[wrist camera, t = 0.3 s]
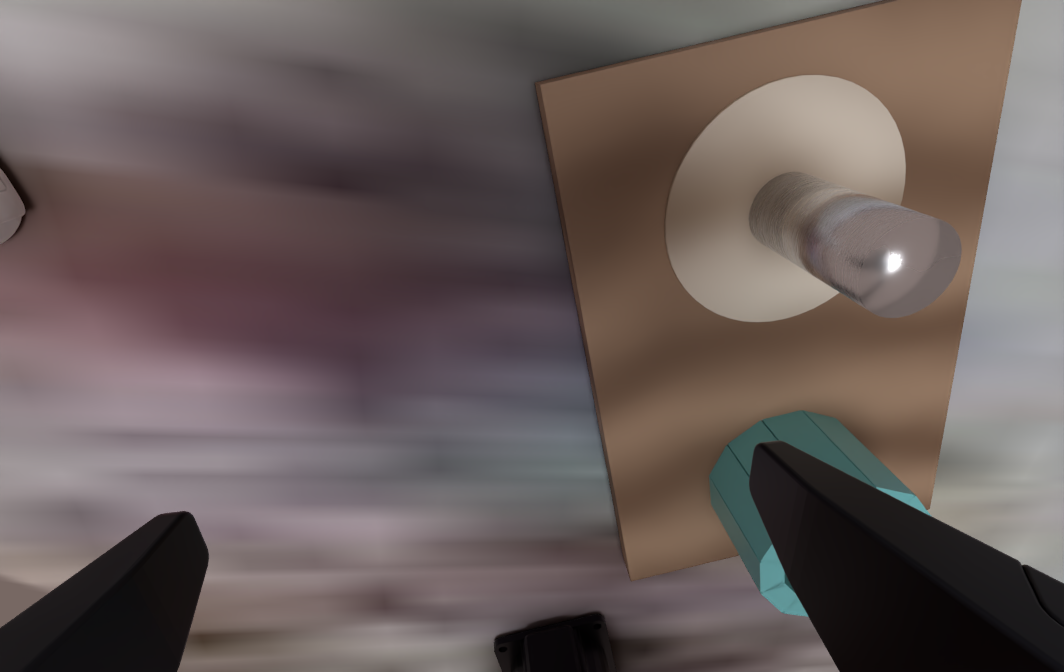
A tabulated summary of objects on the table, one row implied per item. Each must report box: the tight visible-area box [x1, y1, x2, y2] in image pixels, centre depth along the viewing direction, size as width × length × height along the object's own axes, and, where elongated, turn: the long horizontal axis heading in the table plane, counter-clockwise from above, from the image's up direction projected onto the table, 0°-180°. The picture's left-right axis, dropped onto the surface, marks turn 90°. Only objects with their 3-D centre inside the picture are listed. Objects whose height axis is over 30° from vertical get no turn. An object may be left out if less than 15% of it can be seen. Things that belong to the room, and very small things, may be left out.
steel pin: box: [749, 172, 962, 318], centre depth 18 cm, size 3×3×6 cm
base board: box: [535, 0, 1022, 581], centre depth 24 cm, size 24×16×2 cm, turn 12°
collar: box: [709, 410, 931, 617], centre depth 24 cm, size 7×7×5 cm
